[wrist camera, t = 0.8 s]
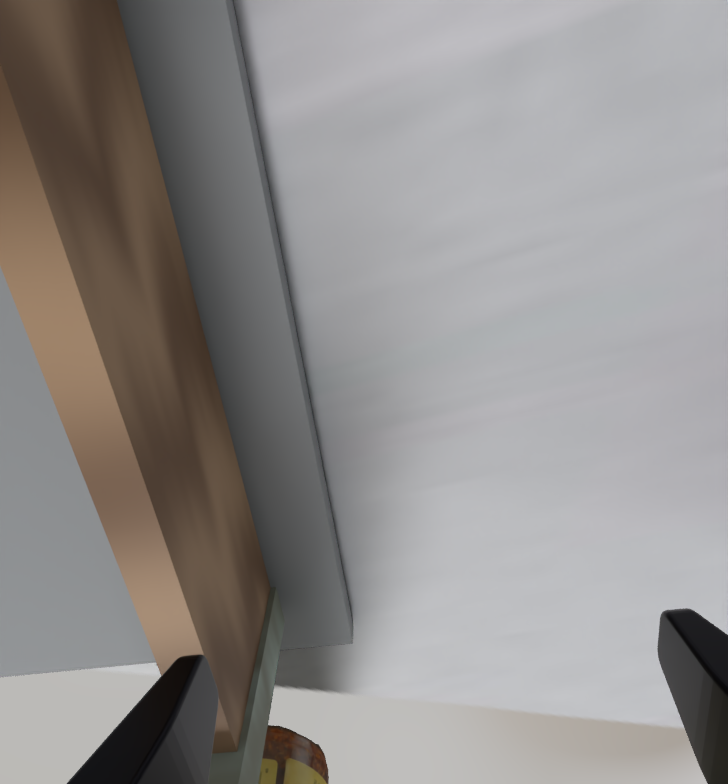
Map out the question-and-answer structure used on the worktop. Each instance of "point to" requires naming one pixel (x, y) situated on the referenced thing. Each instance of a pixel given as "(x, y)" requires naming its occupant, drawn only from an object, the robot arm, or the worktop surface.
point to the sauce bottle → (291, 759)
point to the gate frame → (230, 364)
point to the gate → (131, 355)
